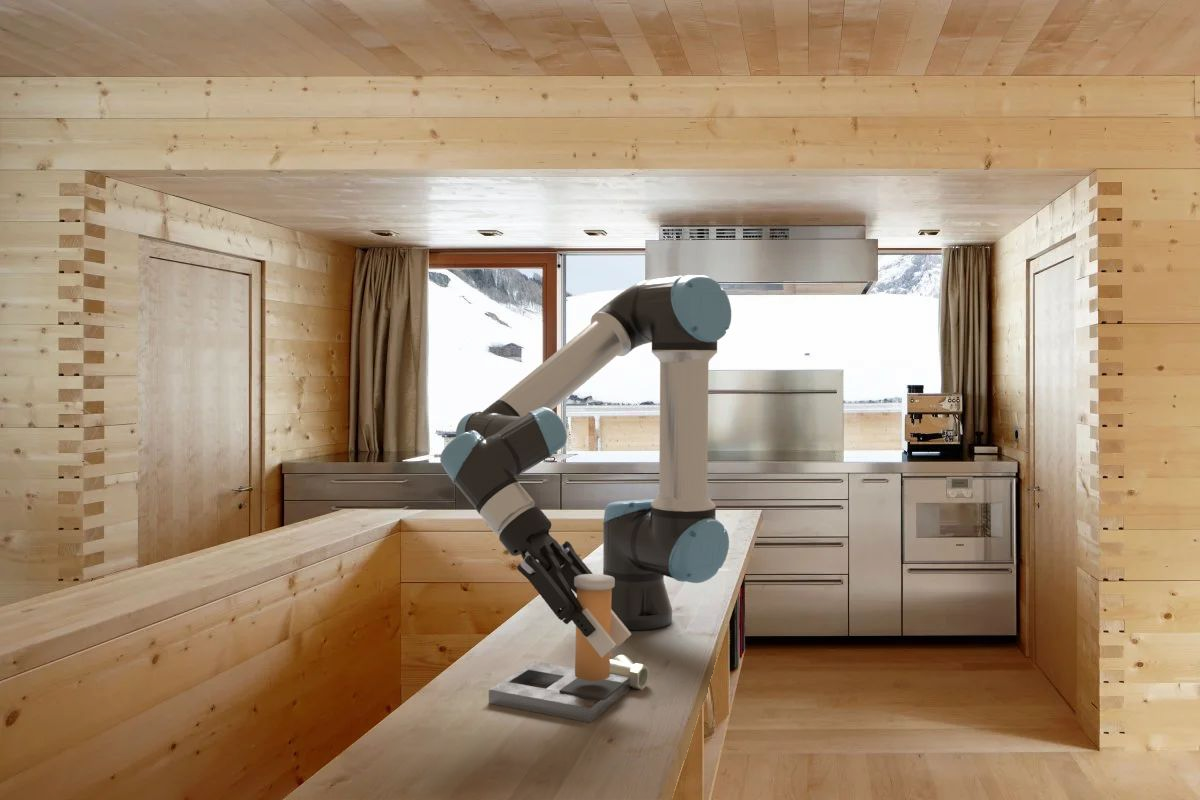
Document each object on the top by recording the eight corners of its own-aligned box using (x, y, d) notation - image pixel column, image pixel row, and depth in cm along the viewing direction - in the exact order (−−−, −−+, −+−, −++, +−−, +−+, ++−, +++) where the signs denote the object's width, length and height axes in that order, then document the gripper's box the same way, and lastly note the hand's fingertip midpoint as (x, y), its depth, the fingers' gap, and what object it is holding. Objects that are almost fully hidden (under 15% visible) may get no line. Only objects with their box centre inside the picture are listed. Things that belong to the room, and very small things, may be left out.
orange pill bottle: (582, 666, 135) (584, 572, 135) (618, 672, 133) (620, 576, 132) (565, 677, 130) (567, 580, 129) (602, 684, 128) (605, 585, 127)
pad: (580, 677, 136) (580, 675, 136) (623, 684, 133) (623, 682, 133) (559, 692, 130) (559, 690, 130) (604, 700, 127) (604, 698, 127)
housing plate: (534, 674, 143) (535, 661, 143) (629, 690, 137) (629, 677, 137) (488, 703, 130) (488, 689, 130) (590, 722, 124) (590, 708, 124)
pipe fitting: (614, 674, 146) (591, 682, 140) (616, 649, 146) (593, 657, 140) (658, 684, 142) (637, 693, 136) (660, 658, 142) (638, 666, 136)
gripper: (529, 527, 145) (623, 644, 139) (469, 547, 129) (572, 680, 123) (560, 497, 143) (656, 614, 137) (502, 512, 126) (609, 647, 120)
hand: (616, 645), depth 130 cm, fingers closed on orange pill bottle, 5 cm apart
